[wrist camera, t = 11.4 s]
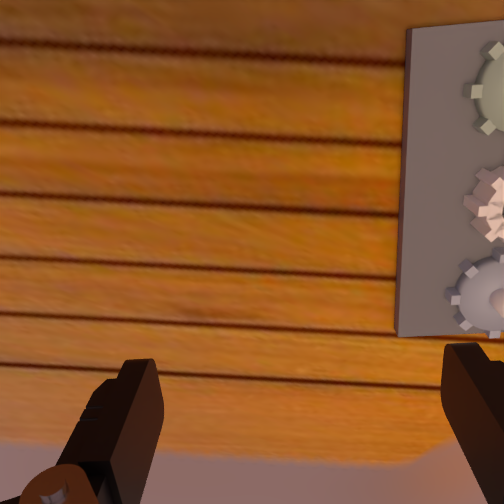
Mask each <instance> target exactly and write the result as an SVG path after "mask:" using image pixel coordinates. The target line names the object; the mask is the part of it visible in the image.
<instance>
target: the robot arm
mask: <svg viewBox="0 0 504 504" xmlns="http://www.w3.org/2000/svg"><path fill="white" fill-rule="evenodd" d="M441 401H442V406H443V410H444V412H445V415H446V417H447V419H448V421H449V423H450V425H451V427H452V429H453V431H454V434H455V436H456V438H457V440H458V442H459V444H460V446H461V448H462V450H463V452H464V455H465V456H466V459H467V461H468V463H469V465H470V467H471V469H472V471H473V473H474V475H475V478H476V480H477V482H478V484H479V486H480V488H481V490H482V492H483V494H484V496H485V498H486V501H487V503H488V504H504V363H503V362H502V361H500V360H499V361H490V360H489V358H488V357H487V355H486V354H485V353H484V351H483V350H482V348H481V347H480V346H479V344H478V343H476V342H473V343H454V344H446V346H445V348H444V356H443V367H442V378H441ZM163 419H164V402H163V397H162V392H161V387H160V383H159V378H158V373H157V368H156V364H155V361H154V360H153V359H133V360H126V361H125V362H124V363H123V366H122V368H121V370H120V372H119V374H118V376H117V378H116V379H107V380H106V381H105V382H103V383H102V384H101V385H100V386H99V387H98V388H97V389H96V390H95V391H94V392H93V394H92V396H91V398H90V400H89V401H88V403H87V405H86V409H84V411H83V413H82V415H81V417H80V421H79V422H78V423H77V425H76V427H75V429H74V430H73V432H72V434H71V436H70V438H69V440H68V442H67V444H66V446H65V448H64V450H63V452H62V454H61V456H60V458H59V459H58V461H57V463H56V465H55V466H54V467H51V468H49V469H46V470H45V471H43V472H41V473H40V474H39V475H37V476H36V477H34V478H33V479H32V480H31V481H30V482H29V483H28V485H27V486H26V487H25V489H24V490H23V492H22V494H21V495H20V496H18V497H15V498H12V499H9V500H5V501H2V502H0V504H140V501H141V497H142V494H143V491H144V487H145V484H146V480H147V477H148V473H149V470H150V466H151V463H152V459H153V456H154V453H155V449H156V446H157V442H158V439H159V435H160V432H161V428H162V425H163Z"/></svg>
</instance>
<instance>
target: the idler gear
mask: <svg viewBox="0 0 504 504" xmlns="http://www.w3.org/2000/svg"><path fill="white" fill-rule="evenodd" d="M475 176H476V177H477V178H478V179H479V180H480V182H479V183H478V184H477V186H476V187H475V189H474V190H473V194H472V195H464V201H463V205H464V206H465V207H467V208H468V209H469V210H470V211H472V212H473V213H474V214H475V216H476V217H475V218H474V219H473V220H472V221H471V222H470V224H471V225H472V226H473V227H474V228H475V229H477V230H478V231H479V232H480V233H481V234H482V235H483V236H485V237H486V238H487V239H488V240H489V241H490V242H492V241H494V240H495V239H496V238H497V237H498V238H499V239H500V240H501V241H503V242H504V215H502V211H503V205H504V166H500V167H498V168H496V169H495V170H493V171H491V172H490V171H488V170H486V169H484V168H482V169H481V170H480V171H479V172H478V173H477V174H476V175H475Z"/></svg>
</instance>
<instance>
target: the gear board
mask: <svg viewBox="0 0 504 504" xmlns="http://www.w3.org/2000/svg"><path fill="white" fill-rule="evenodd" d="M500 166H504V20H499V21H489V22H478V23H467V24H457V25H446V26H436V27H425V28H415V29H408V30H407V37H406V61H405V85H404V108H403V132H402V156H401V180H400V203H399V227H398V251H397V275H396V298H395V322H394V329H395V331H396V333H397V336H398V337H410V336H431V335H452V334H473V333H486V335H487V336H488V337H489V338H500V332H504V242H503V241H501V240H500V239H499V238H498V237H497V238H496V239H495V240H494V241H492V242H490V241H489V240H488V239H487V238H486V237H485V236H483V235H482V234H481V233H480V232H479V231H478V230H477V229H475V228H474V227H473V226H472V225H471V224H470V222H471V221H472V220H473V219H474V218H475V217H476V216H475V214H474V213H473V212H472V211H470V210H469V209H468V208H467V207H465V206H464V205H463V201H464V195H472V194H473V190H474V189H475V187H476V186H477V184H478V183H479V182H480V180H479V179H478V178H477V177H476V176H475V175H476V174H477V173H478V172H479V171H480V170H481V169H482V168H484V169H486V170H488V171H490V172H491V171H493V170H495V169H496V168H498V167H500ZM502 215H504V205H503V211H502Z"/></svg>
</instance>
